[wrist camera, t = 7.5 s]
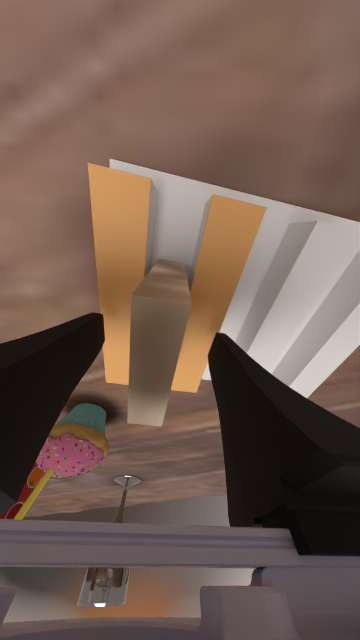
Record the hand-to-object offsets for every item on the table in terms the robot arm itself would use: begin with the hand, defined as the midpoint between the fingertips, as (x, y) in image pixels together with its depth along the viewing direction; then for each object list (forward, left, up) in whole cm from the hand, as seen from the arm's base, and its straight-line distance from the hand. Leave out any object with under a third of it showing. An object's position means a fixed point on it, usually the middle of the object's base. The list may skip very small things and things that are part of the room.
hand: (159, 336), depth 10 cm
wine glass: (+3, +51, -6) cm, 51 cm away
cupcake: (+9, +20, -6) cm, 23 cm away
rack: (-6, 0, -5) cm, 8 cm away
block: (0, 0, -5) cm, 5 cm away
